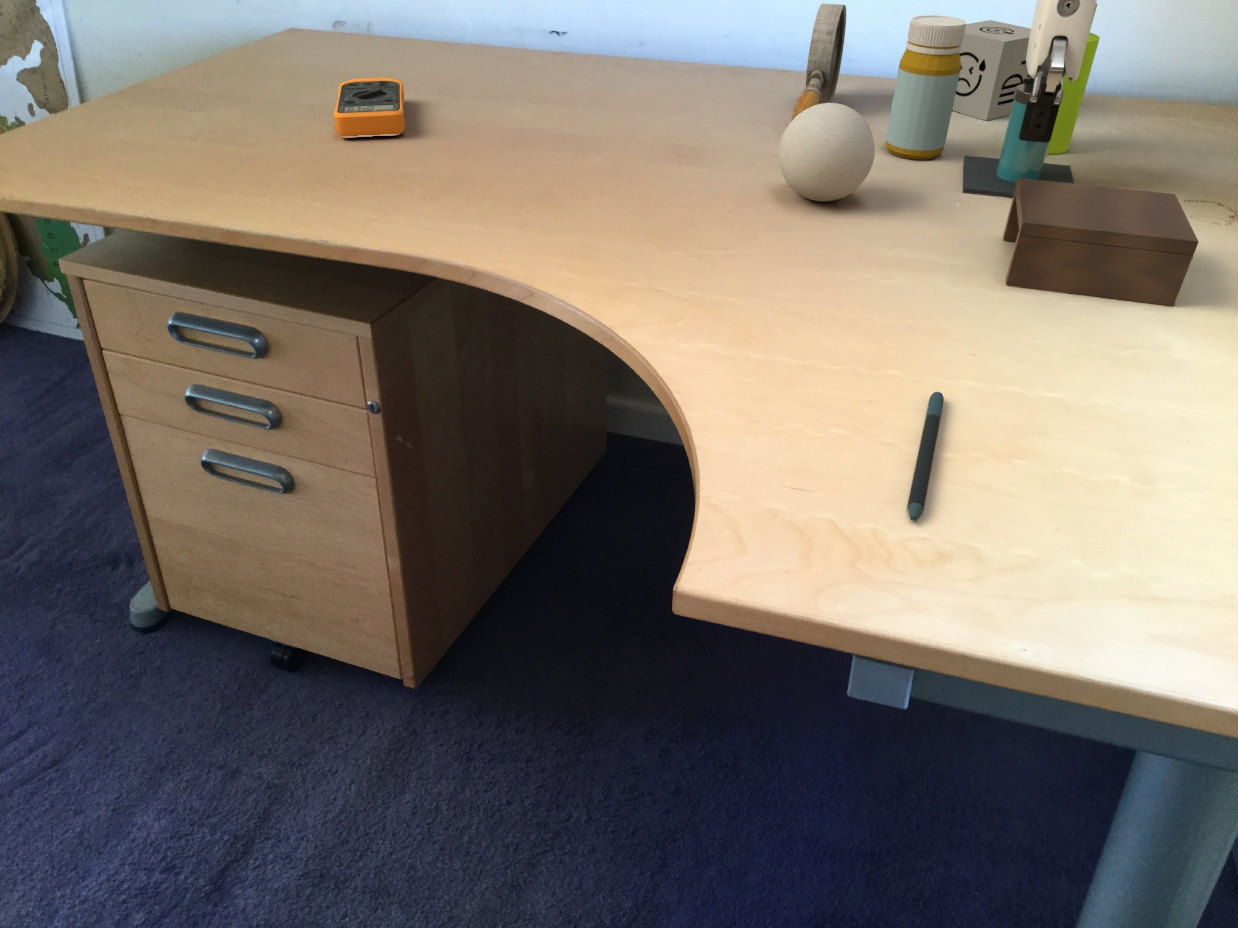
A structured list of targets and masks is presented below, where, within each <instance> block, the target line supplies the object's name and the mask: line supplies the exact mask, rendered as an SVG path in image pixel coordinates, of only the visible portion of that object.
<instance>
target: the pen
mask: <svg viewBox="0 0 1238 928" xmlns="http://www.w3.org/2000/svg"><path fill="white" fill-rule="evenodd" d="M944 401H945V397H944V394H943V393H942V392H940V391H934V392H933V393H932V394H931V395H930V397H929V400H928V404H927V409H926V414H925V419H924V424H923V429H922V432H921V439H920V442H919V443H920V444H919V447H918V453H917V458H916V463H915V467H914V472H913V477H912V482H911V485H910V486H911V487H910V492H909V495H908V496H909V497H908V502H907V505H906V506H907V511H908V514H909V519H910V521H911V522H912V523H914V522H916V521H917V520H918V518H919V517H920V516H921V515H922V514H923V512H924V510H925V505H926V500H927V494H928V490H929V484H930V479H931V473H932V467H933V462H934V456H935V451H936V445H937V441H938V435H939V430H940V424H941V418H942V412H943V409H944Z"/></svg>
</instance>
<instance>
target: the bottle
mask: <svg viewBox="0 0 1238 928" xmlns="http://www.w3.org/2000/svg"><path fill="white" fill-rule="evenodd" d="M909 21H910V22H909V26H908V27H909V28H908V32H907V41H906V46H905V50H904V52H903V54H902V56H901V58H900V60H899V64H898V69H897V75H896V80H895V86H894V93H893V98H892V103H891V108H890V115H889V121H888V126H887V133H886V138H885V139H886V140H885V147H886V148H887V150H888V152H889V153H890V154H891V155H894V156H896V157H898V158H901V159H907V160H920V161H921V160H932V159H935V158H937V157H938V156H939V155H940V154H942V153H943V151H944V149H945V145H946V142H947V141H946V140H947V137H948V131H949V127H950V122H951V117H952V113H953V111H952V108H953V104H954V99H955V94H956V89H957V84H958V80H959V75H960V69H961V61H960V53H959V52H960V50H961V43H962V41H963V37H964V32H965V27H966V24H967V22H966V20H964V19H962V18H958V17H954V16H948V15H933V14H931V15H917V16H916V15H915V16H913V17H911V20H909Z"/></svg>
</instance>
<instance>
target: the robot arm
mask: <svg viewBox="0 0 1238 928" xmlns="http://www.w3.org/2000/svg"><path fill="white" fill-rule="evenodd" d="M1096 3H1097V0H1037V2H1036V5H1035V8H1034V13H1033V17H1032V23H1031V27H1030V28H1031V32H1030V37H1029V43H1028V49H1027V56H1026V65H1027V74H1026V78H1031V79H1026V78H1024V80H1023V84H1033V90H1032V96H1031V101H1027V105H1026V109H1025V113H1024V117H1023V121H1022V125H1021V129H1020V133H1019V139H1020V140H1022V141H1032V142H1043V143H1047V142H1049V141H1050V140H1051V136H1052V133H1053V129H1054V125H1055V122H1056V118H1057V114H1058V111H1059V107H1060V103H1059V102H1060V98H1061V93H1062V87H1063V81H1064V77H1065V73H1066V76H1067V77H1068V78H1069V81H1070V82H1073V81H1075V80H1076V79H1077V78H1078V76H1079V72H1080V68H1081V64H1082V59H1083V55H1084V51H1085V47H1086V43H1087V39H1088V35H1089V31H1090V32H1091V29H1090V27H1091V28H1092V26H1091V22H1092V18H1093V14H1094V10H1095V5H1096ZM1093 19H1094V18H1093ZM1092 23H1093V22H1092ZM1039 89H1040V90H1039Z"/></svg>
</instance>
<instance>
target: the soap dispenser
mask: <svg viewBox="0 0 1238 928" xmlns="http://www.w3.org/2000/svg"><path fill="white" fill-rule="evenodd" d="M1097 7H1098V3H1097V2H1096V5H1095V10H1094V14H1093V18H1092V22H1091V27H1090V31H1089V35H1088V39H1087V43H1086V47H1085V51H1084V55H1083V59H1082V64H1081V68H1080V72H1079V76H1078V78H1077V79H1076V80H1075V81H1073V82H1070V81H1069V78H1068V77H1067V76H1066V73H1065V77H1064V81H1063V87H1062V90H1064V96H1063V99H1062V103H1061V104H1060V107H1059V111H1058V114H1057V118H1056V122H1055V125H1054V129H1053V133H1052V136H1051V140H1050V143H1049V147H1048V150H1047V154H1046V155H1060V154H1064V153H1066V152H1068V150H1069V148H1070V144H1071V140H1072V137H1073V134H1074V130H1075V128H1076V127H1075V126H1076V123H1077V119H1078V116H1079V113H1080V108H1081V105H1082V102H1083V98H1084V96H1085V95H1084V94H1085V91H1086V88H1087V85H1088V80H1089V77H1090V74H1091V70H1092V67H1093V64H1094V59H1095V57H1096V53H1097V49H1098V45H1099V42H1100V39H1101V37H1100V36H1099V35H1097V34H1095V33H1093V32H1091V29H1092V25H1093V22H1094V18H1095V14H1096V12H1097Z"/></svg>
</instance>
